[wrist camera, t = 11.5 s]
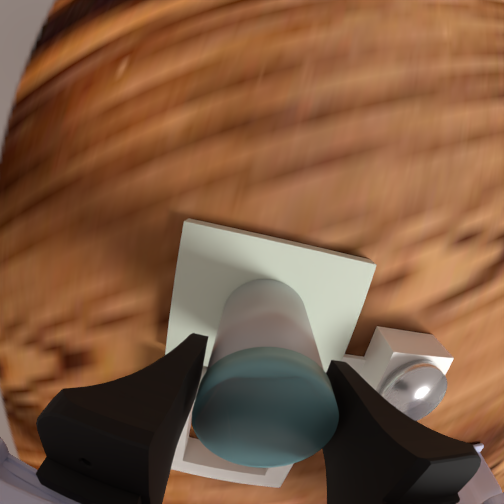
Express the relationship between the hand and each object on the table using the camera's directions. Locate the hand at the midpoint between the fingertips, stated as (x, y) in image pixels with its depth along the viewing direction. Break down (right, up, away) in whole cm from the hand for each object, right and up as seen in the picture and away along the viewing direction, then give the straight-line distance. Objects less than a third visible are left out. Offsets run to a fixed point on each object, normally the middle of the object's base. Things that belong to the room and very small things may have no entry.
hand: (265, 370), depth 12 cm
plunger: (+9, -2, +6) cm, 11 cm away
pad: (0, +2, +6) cm, 6 cm away
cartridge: (0, +1, +5) cm, 5 cm away
